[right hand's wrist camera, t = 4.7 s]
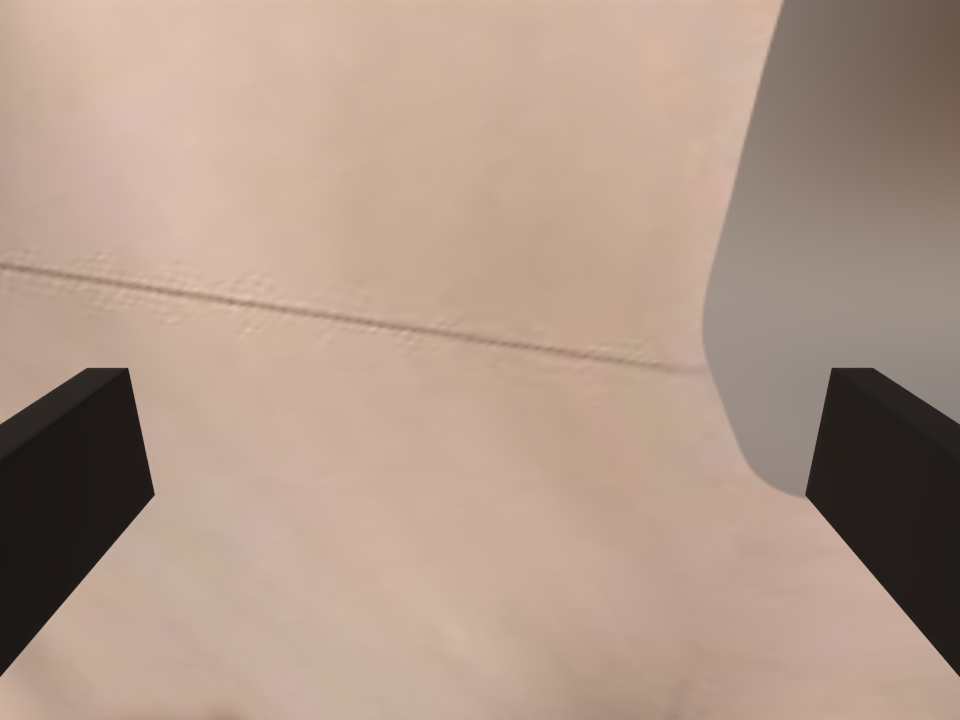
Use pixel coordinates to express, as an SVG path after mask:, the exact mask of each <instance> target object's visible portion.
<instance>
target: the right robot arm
mask: <svg viewBox="0 0 960 720" xmlns="http://www.w3.org/2000/svg"><path fill="white" fill-rule="evenodd" d="M154 495H155V494H154V489H153V484H152V479H151V475H150V470H149V465H148V460H147V456H146V451H145V446H144V441H143V436H142V432H141V427H140V422H139V417H138V413H137V408H136V403H135V398H134V393H133V389H132V384H131V379H130V374H129V370H128V368H86V369H85V370H83V371H82V372H80V373H79V374H77V375H75V376H74V377H72V378H71V379H69V380H68V381H66V382H65V383H63V384H62V385H60V386H59V387H57V388H56V389H54V390H52V391H51V392H49V393H48V394H46V395H45V396H43V397H42V398H40V399H39V400H37V401H36V402H34V403H33V404H31V405H29V406H28V407H26V408H25V409H23V410H22V411H20V412H19V413H17V414H16V415H14V416H13V417H11V418H10V419H8V420H6V421H5V422H3V423H2V424H0V677H1V675H2V674H3V673H4V672H5V671H6V670H7V668H8V667H9V666H10V665H11V664H12V663H13V661H14V660H15V659H16V658H17V657H18V655H19V654H20V653H21V652H22V651H23V650H24V648H25V647H26V646H27V645H28V644H29V642H30V641H31V640H32V639H33V638H34V637H35V635H36V634H37V633H38V632H39V631H40V630H41V628H42V627H43V626H44V625H45V624H46V622H47V621H48V620H49V619H50V618H51V617H52V615H53V614H54V613H55V612H56V611H57V610H58V608H59V607H60V606H61V605H62V604H63V602H64V601H65V600H66V599H67V598H68V597H69V595H70V594H71V593H72V592H73V591H74V589H75V588H76V587H77V586H78V585H79V584H80V582H81V581H82V580H83V579H84V578H85V577H86V575H87V574H88V573H89V572H90V571H91V569H92V568H93V567H94V566H95V565H96V564H97V562H98V561H99V560H100V559H101V558H102V556H103V555H104V554H105V553H106V552H107V551H108V549H109V548H110V547H111V546H112V545H113V544H114V542H115V541H116V540H117V539H118V538H119V536H120V535H121V534H122V533H123V532H124V531H125V529H126V528H127V527H128V526H129V525H130V523H131V522H132V521H133V520H134V519H135V518H136V516H137V515H138V514H139V513H140V512H141V511H142V509H143V508H144V507H145V506H146V505H147V503H148V502H149V501H150V500H151V499H152V498H153V496H154ZM805 495H806V496H807V498H808V499H809V500H810V501H811V502H812V503H813V505H814V506H815V507H816V508H817V509H818V511H819V512H820V513H821V514H822V515H823V516H824V518H825V519H826V520H827V521H828V522H829V523H830V525H831V526H832V527H833V528H834V529H835V531H836V532H837V533H838V534H839V535H840V536H841V538H842V539H843V540H844V541H845V542H846V544H847V545H848V546H849V547H850V548H851V549H852V551H853V552H854V553H855V554H856V555H857V556H858V558H859V559H860V560H861V561H862V562H863V564H864V565H865V566H866V567H867V568H868V569H869V571H870V572H871V573H872V574H873V575H874V577H875V578H876V579H877V580H878V581H879V582H880V584H881V585H882V586H883V587H884V588H885V589H886V591H887V592H888V593H889V594H890V595H891V597H892V598H893V599H894V600H895V601H896V602H897V604H898V605H899V606H900V607H901V608H902V610H903V611H904V612H905V613H906V614H907V615H908V617H909V618H910V619H911V620H912V621H913V622H914V624H915V625H916V626H917V627H918V628H919V630H920V631H921V632H922V633H923V634H924V635H925V637H926V638H927V639H928V640H929V641H930V642H931V644H932V645H933V646H934V647H935V648H936V650H937V651H938V652H939V653H940V654H941V655H942V657H943V658H944V659H945V660H946V661H947V663H948V664H949V665H950V666H951V667H952V668H953V670H954V671H955V672H956V673H957V674H958V675H959V677H960V424H958V423H956V422H955V421H954V420H952V419H950V418H949V417H947V416H946V415H944V414H943V413H941V412H940V411H938V410H937V409H935V408H934V407H932V406H931V405H929V404H927V403H926V402H924V401H923V400H921V399H920V398H918V397H917V396H915V395H914V394H912V393H911V392H909V391H908V390H906V389H904V388H903V387H901V386H900V385H898V384H897V383H895V382H894V381H892V380H891V379H889V378H888V377H886V376H885V375H883V374H881V373H880V372H878V371H877V370H875V369H874V368H832V370H831V375H830V379H829V384H828V389H827V394H826V398H825V403H824V408H823V413H822V417H821V422H820V427H819V432H818V436H817V441H816V446H815V451H814V456H813V460H812V465H811V470H810V475H809V479H808V484H807V489H806V494H805Z"/></svg>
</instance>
